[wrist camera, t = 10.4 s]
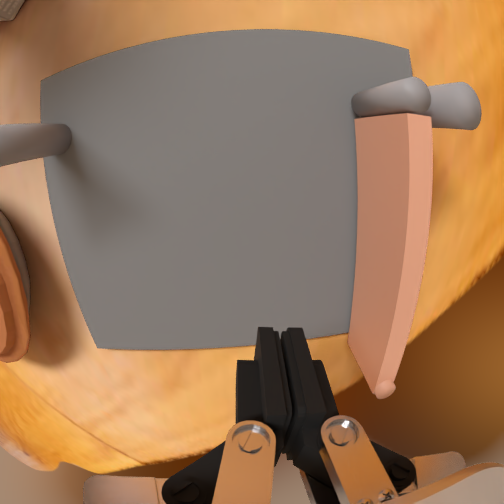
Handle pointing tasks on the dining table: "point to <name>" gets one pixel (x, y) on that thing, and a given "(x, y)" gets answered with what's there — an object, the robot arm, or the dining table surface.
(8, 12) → the skincare box
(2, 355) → the pie
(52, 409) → the dining table surface
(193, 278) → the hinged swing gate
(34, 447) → the dining table surface
